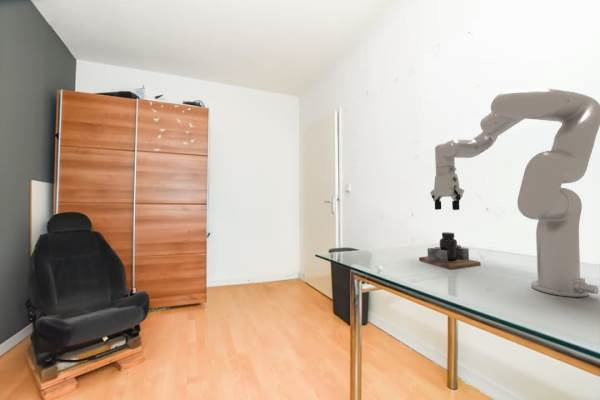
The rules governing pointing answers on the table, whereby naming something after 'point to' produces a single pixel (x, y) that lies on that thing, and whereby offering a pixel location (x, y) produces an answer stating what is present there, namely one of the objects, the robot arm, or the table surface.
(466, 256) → the bottle cradle
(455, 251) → the supplement bottle
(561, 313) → the table surface
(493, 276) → the table surface
